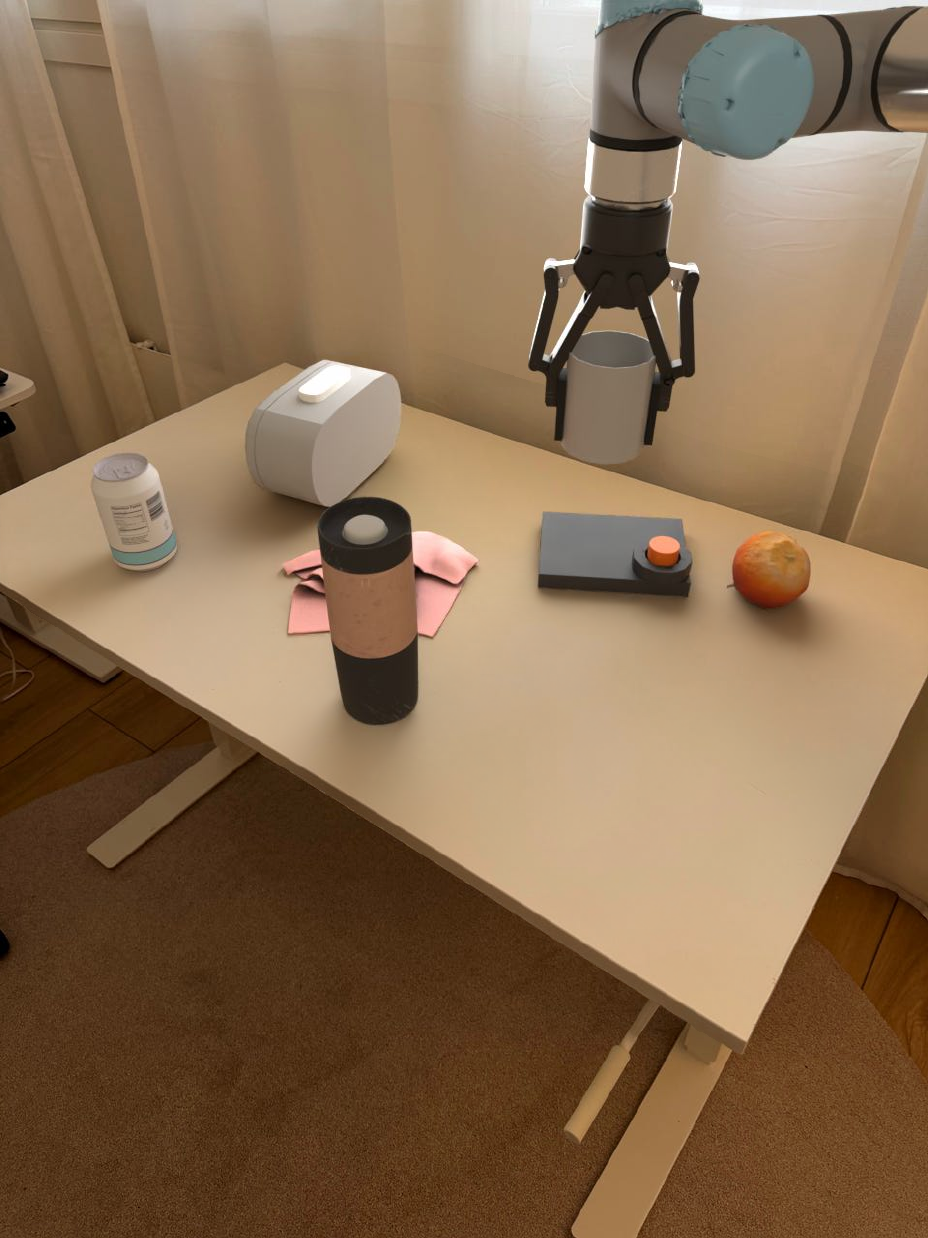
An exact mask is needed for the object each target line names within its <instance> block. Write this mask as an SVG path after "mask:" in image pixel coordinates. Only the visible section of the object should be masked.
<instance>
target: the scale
mask: <svg viewBox="0 0 928 1238" xmlns="http://www.w3.org/2000/svg"><path fill="white" fill-rule="evenodd" d="M540 533H541V534H540V549H539V561H538V562H539V563H538V575H537V576H538V577H537V588H538V589H550V590H551V589H552V590H566V591H567V590H568V591H569V590H570V591H585V592H603V593H616V594H618V593H619V594H632V595H633V594H634V595H649V596H663V597H665V596H667V597H668V596H669V597H682V598H688V597H689V596H690V595H689V594H690V590H691V585H692V580H691V572H692V571H691V570H692V566H693V557H692V552H691V551H690V550H689V549H688V548H687V546H686V545H687V544H686V539H685V531H684V524H683V519H682V518H670V517H669V518H668V517H652V516H635V515H632V516H631V515H614V514H598V513H596V514H595V513H577V512H562V511H561V512H557V511H542V519H541V532H540ZM658 536H667V537H671V538H673V539H675V540H676V541H678V543H679V544H680V550H679V555H678V560H677V562H676V563H675V564H674V565H672V566H658V565H656V564H653V563H651V562H650V561H649V560H648V558H647V554H648V548H649V542H650V540H651V539H653V538H654V537H658Z"/></svg>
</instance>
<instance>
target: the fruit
mask: <svg viewBox="0 0 928 1238" xmlns="http://www.w3.org/2000/svg"><path fill="white" fill-rule="evenodd" d="M811 565H812V564H811V560H810V556H809V554H808V552H807V550H806V549H805V548H804V547H803V546H801V545H800V544H799V543H798V541H797V539H795V538H793V537H792V536H789V535H786V534H783V533H779V532H776V531H773V530H765V531H762V532H759V533H755V534H753V535H751V536H750V537H749V538H747V539H746V540H745V541H744V542H742V544H741V545H740V546H739V547H737V549H736V551H735V554H734V557H733V560H732V565H731V568H732V569H731V574H732V575H731V576H732V583H730V584H727V585H726V589H728V588H733V587H734V589H735V590H736V592H737V593H739V595H741V597H742V598H743V599H745V600H746V601H748V602H749V603H752V604H754V605H755V606H758V607H759V608H761V609H762V610H773V609H777V608H781V607H783V606H786V605H788V604H790V603H793V602H794V601H795V600H797V599H798V598H800V597H801V596H802V595H803V594H804V593H805V592H807V590H808V588H809V586H810V581H811V574H812V573H811V572H812V569H811V568H812V566H811Z"/></svg>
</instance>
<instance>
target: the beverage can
mask: <svg viewBox="0 0 928 1238" xmlns="http://www.w3.org/2000/svg"><path fill="white" fill-rule="evenodd" d="M92 473H93V474H92V477H91V482H90V490H91V493H92V496H93V499H94V502H95V505H96V509H97V512H98V514H99V515H98V516H99V518H100V521H101V524H102V527H103V530H104V533H105V536H106V540H107V542H108V546H109V548H110V552H111V554H112V558H113V561H114V562H115V563H116V565H118V566H119V567H120V568H123V569H125V570H130V571H136V572H150V571H154V570H157V569H159V568H161V567H163V566H164V565H165V564H167V562H168V561H170V560H171V559H172V558H173V557H174V556H175V554H176V553H177V550H178V543H177V539H176V535H175V531H174V527H173V524H172V520H171V515H170V512H169V509H168V505H167V501H166V497H165V493H164V490H163V486H162V482H161V479H160V474H159V472H158V470H157V469H156V468H155V467H154V466H153V465H152V464H151V463H150V462H149V460H148V458H147V457H146V456H145V455H143V454H141V453H137V452H119V453H114V454H111V455H107V456H105V457H103V458H102V459H100V460H98V461H97V462H96V463H95V464H94V466H93V468H92Z"/></svg>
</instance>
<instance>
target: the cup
mask: <svg viewBox="0 0 928 1238" xmlns="http://www.w3.org/2000/svg"><path fill="white" fill-rule="evenodd" d="M655 359H656V356H654V355H653V352H652V349H651V346H650V343H649V340H648V338H646V337H643V336H640V335H637V334H634V333H632V332H627V331H626V332H625V331H618V330H596V331H589V332H586V333H582V335H581V337H580V339H579V340H578V342H577V344H576V346H575V347H574V349H573V351H572V353H569V358H568V360H567V362H566V367H565V368H566V390H565V404H564V417H563V430H562V441H560V445H561V447H562V449H563V450H564V451H565V452H566V454H568V455H569V456H571V457H573V458H575V459H577V460H580V461H582V462H585V463H591V464H597V465H602V466H603V465H615V464H616V465H617V464H623V463H627V462H628V461H629V462H630V461H631V460H634V459H636V458H637V457H639V456H640V455H641V453H642V452H643V451H644V449H645V445H644V441H645V434H646V428H647V421H648V414H649V407H650V400H651V393H652V386H653V381H654V374H655V372H656V368H657V364H656V361H655Z"/></svg>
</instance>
